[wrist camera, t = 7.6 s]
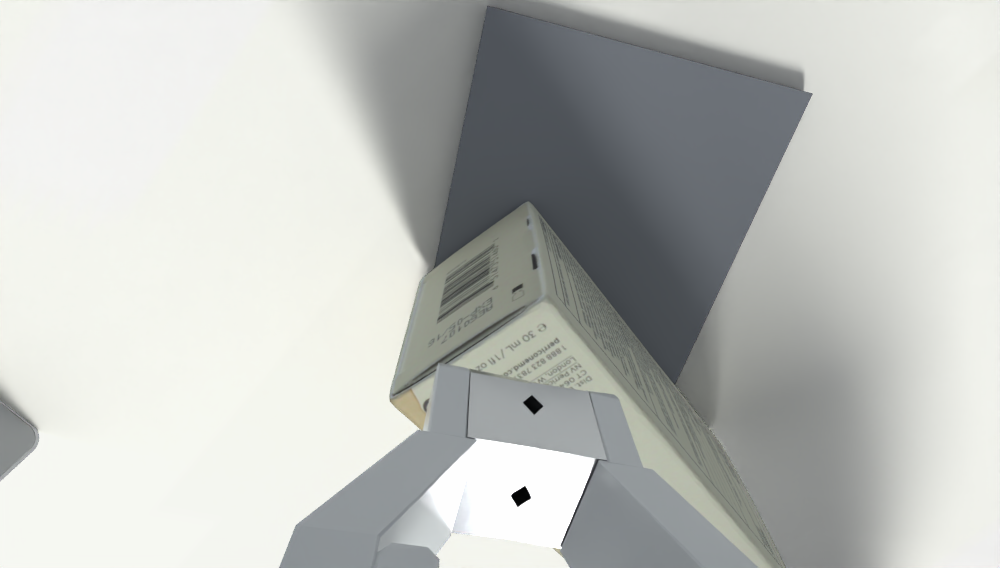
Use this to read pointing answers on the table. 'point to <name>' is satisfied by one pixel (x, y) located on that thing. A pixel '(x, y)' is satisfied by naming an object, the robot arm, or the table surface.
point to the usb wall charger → (14, 439)
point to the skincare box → (566, 360)
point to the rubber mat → (620, 165)
